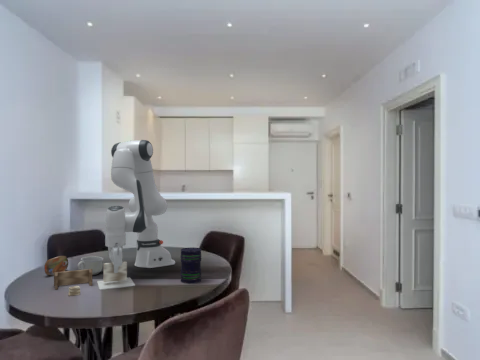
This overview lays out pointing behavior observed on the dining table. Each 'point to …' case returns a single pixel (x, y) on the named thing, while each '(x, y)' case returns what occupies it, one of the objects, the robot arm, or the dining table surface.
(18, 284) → the dining table surface
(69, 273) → the frame
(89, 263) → the teacup
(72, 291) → the offcut top
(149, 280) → the dining table surface
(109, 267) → the cream rectangular block
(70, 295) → the offcut low
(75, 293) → the offcut mid
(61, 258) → the tin
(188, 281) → the storage jar
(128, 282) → the mat
